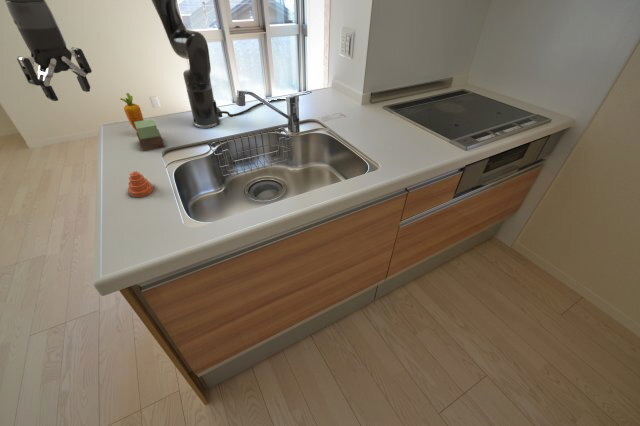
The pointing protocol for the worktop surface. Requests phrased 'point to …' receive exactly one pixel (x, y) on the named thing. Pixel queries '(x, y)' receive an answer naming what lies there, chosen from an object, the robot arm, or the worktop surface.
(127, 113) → the carrot
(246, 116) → the worktop surface
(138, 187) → the cone
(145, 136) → the top block
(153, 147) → the base block
